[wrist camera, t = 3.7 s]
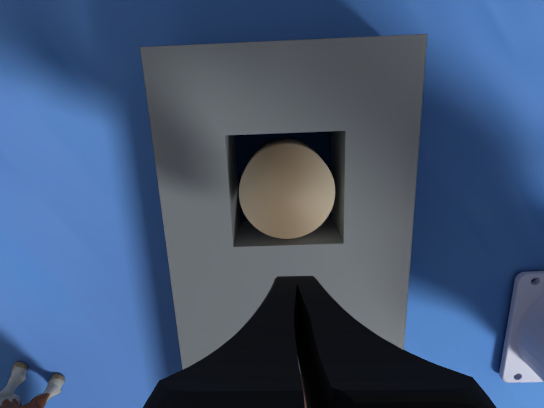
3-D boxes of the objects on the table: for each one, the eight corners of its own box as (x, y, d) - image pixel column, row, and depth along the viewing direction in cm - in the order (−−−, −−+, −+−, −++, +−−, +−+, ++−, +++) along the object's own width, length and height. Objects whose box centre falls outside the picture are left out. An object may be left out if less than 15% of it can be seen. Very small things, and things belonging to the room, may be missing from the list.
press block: (395, 49, 18) (427, 34, 14) (375, 435, 25) (392, 495, 21) (168, 59, 18) (140, 47, 15) (211, 438, 26) (199, 498, 22)
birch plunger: (325, 136, 19) (335, 143, 15) (324, 214, 20) (334, 237, 16) (243, 139, 19) (235, 147, 15) (247, 217, 20) (241, 240, 17)
